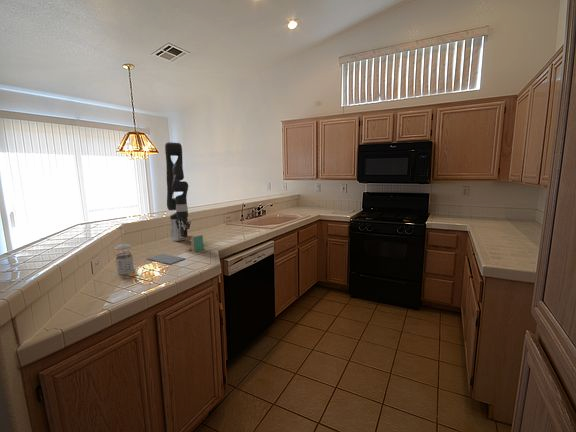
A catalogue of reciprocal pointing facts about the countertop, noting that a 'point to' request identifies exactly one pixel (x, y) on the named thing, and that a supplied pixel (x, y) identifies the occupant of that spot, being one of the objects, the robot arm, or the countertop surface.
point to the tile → (197, 243)
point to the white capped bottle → (124, 259)
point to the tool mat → (166, 259)
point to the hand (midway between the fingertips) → (184, 234)
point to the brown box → (184, 235)
